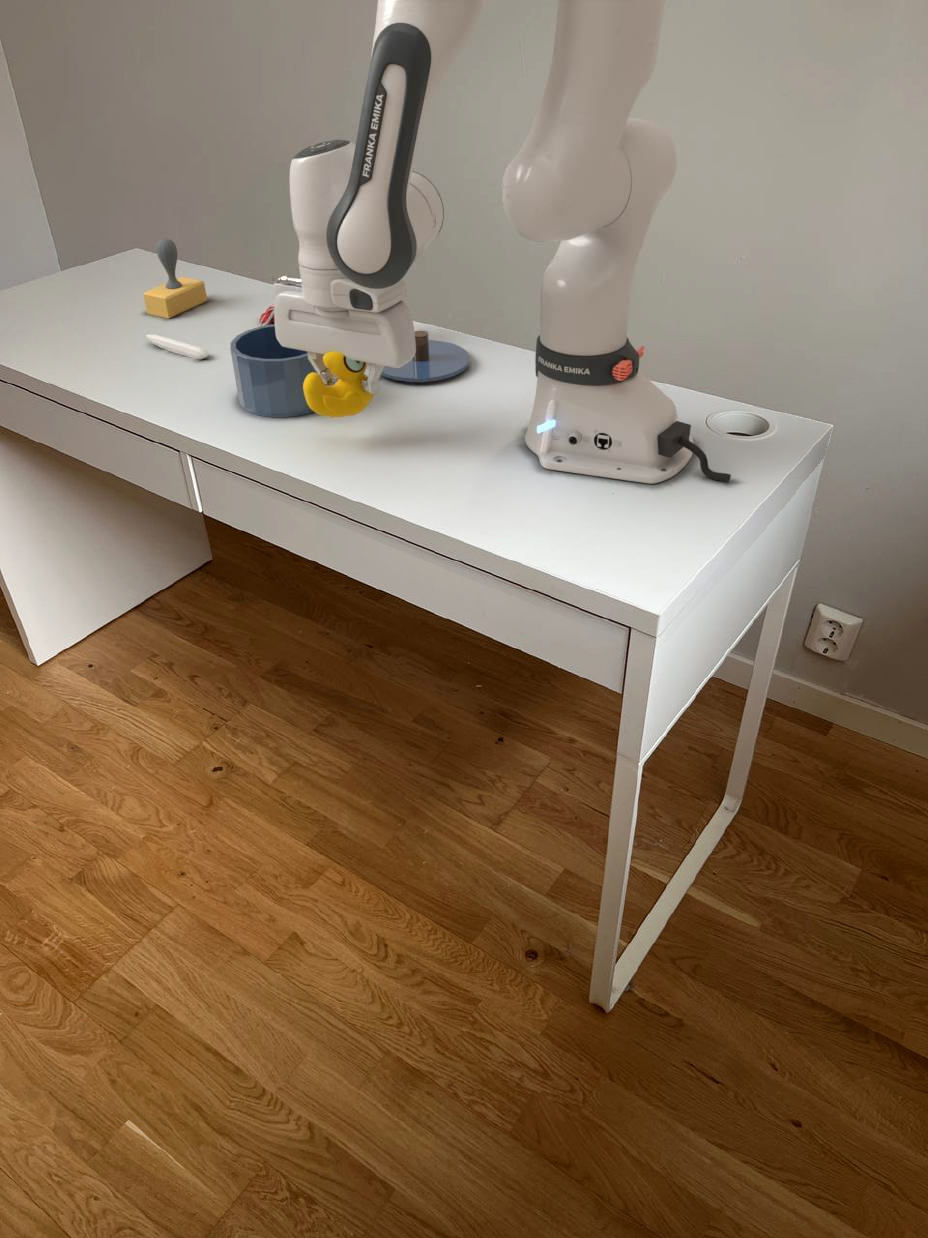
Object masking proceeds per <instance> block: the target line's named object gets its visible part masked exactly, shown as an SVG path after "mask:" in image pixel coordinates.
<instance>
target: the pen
mask: <svg viewBox="0 0 928 1238" xmlns="http://www.w3.org/2000/svg"><path fill="white" fill-rule="evenodd" d="M145 337H146V338H147V339H148V340H149V342H150V343H151V344H152V345H155V346H157V347H159V348H160V349H163V350H166V351H169V352H171V353H174V354H177V355H181V356H185V357H188V358H191V359H195V360H203V359H206V358H207V357H208V353H207V351H206V350H205V349H204V348H203V347H199V346H196V345H193V344H190V343H187V342H183V341H179V340H177V339H173V338H169V337H166V336H162V335H160V334H159V335H158V334H146V335H145Z"/></svg>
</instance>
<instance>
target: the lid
mask: <svg viewBox="0 0 928 1238" xmlns="http://www.w3.org/2000/svg"><path fill="white" fill-rule="evenodd" d="M414 333H415V342H416V353H415V355H414V357H413V358H412V360H411V361H410V362H408V363H407V364H405V365H404V366H402V367H400V368H393V367H388V366H384V368H383V370H382V372H381V375H380V376H383V377H385V378H388V379H392V380H396V381H399V382H408V383H428V382H435V381H441V380H444V379H445V380H446V379H449V378H452V377H454V376H456V375H459V374H461V373H462V372H464V371H465V370H466V369H467V368H468V367H469V365H470V361H471V357H470V354H469V352H468V351H467V350H466V349H464V347H461V346H460V345H458V344H455V343H452V342H449V341H443V340H435V339H430V338H429V337H430V336H429V332H428V331H426V330H414Z"/></svg>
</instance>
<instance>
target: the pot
mask: <svg viewBox="0 0 928 1238" xmlns="http://www.w3.org/2000/svg"><path fill="white" fill-rule="evenodd" d="M229 349H230V354H231V361H232V367H233V368H232V369H233V373H234V379H235V386H236V391H237V392H236V393H237V397H238V398H237V399H238V402H239V405H240V407H242V408H243V409H244V410H245V411H246V412H248V413H251V414H253V415H256V416H261V417H267V418H291V417H298V416H303V415H308V414H312V413H315V412H314V411H313V410H311V409H310V407H309V406H308V404H307V401H306V399H305V395H304V390H303V383H304V380H305V378H306V377H307V375H308V374H310V373H312V372H315V373H317V371H316V370H315V369H314V367H313V365H312V364H311V362H310V361H309V359H308V355H307V351H303V350H297V349H292V348H286V347H283V346H281V344H280V343H279V341H278V340H277V338H276V332H275V323H273V324H269V325H266V326H261V327H258V326H257V327H254V328H251V329H247V330H244V331H243V332H241V333H239V334H238V335H236V336H235V337H234V338H233V339H232V340H231V341H230V348H229ZM323 356H324V355H323ZM335 383H336V381H335V380H334V382H333V383H330V384H329V385H327V384H325V385H326V386H332V385H334V384H335Z"/></svg>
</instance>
